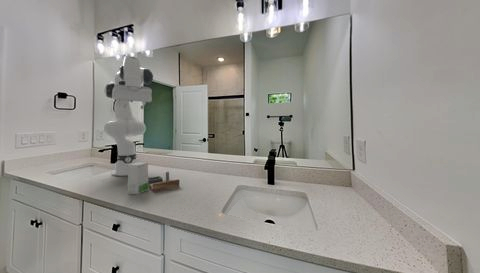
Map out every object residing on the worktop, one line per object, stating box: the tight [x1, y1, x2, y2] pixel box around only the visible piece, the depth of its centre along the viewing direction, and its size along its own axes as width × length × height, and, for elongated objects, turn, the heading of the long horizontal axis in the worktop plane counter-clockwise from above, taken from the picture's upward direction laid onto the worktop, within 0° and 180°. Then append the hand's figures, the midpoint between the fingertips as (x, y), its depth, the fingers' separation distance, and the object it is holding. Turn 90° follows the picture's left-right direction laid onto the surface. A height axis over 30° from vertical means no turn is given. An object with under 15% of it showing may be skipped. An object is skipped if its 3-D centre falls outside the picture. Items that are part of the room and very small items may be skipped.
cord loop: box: [148, 175, 164, 187], centre depth 111 cm, size 6×8×3 cm
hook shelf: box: [148, 171, 180, 193], centre depth 105 cm, size 12×14×8 cm
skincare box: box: [127, 161, 149, 195], centre depth 97 cm, size 8×7×16 cm
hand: (133, 108), depth 106 cm, fingers open, 8 cm apart
